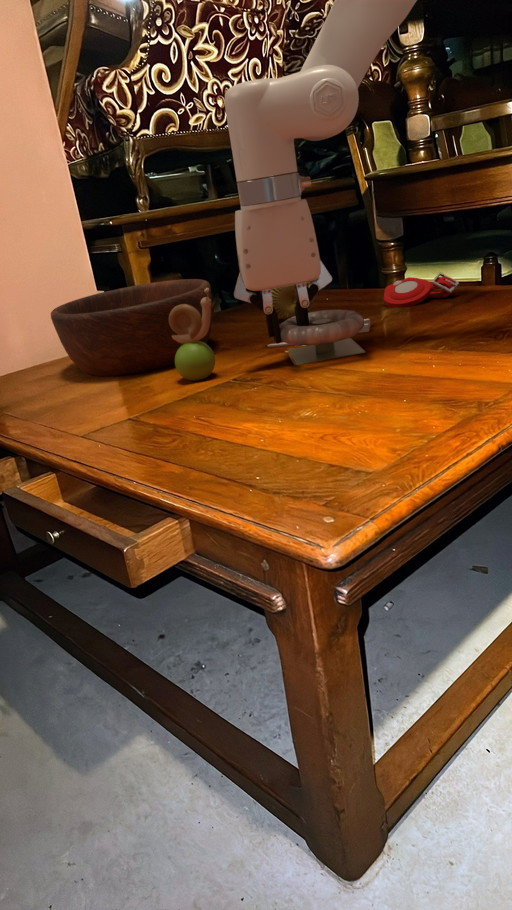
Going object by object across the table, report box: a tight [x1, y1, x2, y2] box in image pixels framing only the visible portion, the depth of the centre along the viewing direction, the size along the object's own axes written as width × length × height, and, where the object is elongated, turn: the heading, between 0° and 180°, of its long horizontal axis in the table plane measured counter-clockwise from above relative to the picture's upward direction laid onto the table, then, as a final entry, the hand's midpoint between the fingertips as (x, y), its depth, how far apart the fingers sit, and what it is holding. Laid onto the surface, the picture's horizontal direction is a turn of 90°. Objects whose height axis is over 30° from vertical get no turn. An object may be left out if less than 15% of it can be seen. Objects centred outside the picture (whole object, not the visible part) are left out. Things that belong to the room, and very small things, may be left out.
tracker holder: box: [383, 271, 460, 308], centre depth 119 cm, size 12×4×10 cm
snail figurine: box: [169, 288, 216, 382], centre depth 92 cm, size 5×6×12 cm
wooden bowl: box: [50, 278, 213, 377], centre depth 110 cm, size 25×25×10 cm
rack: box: [287, 319, 366, 366], centre depth 93 cm, size 9×9×5 cm
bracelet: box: [279, 309, 365, 346], centre depth 92 cm, size 11×11×2 cm
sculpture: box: [271, 281, 316, 321], centre depth 119 cm, size 8×4×8 cm, turn 90°
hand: (289, 338), depth 92 cm, fingers closed on bracelet, 2 cm apart
